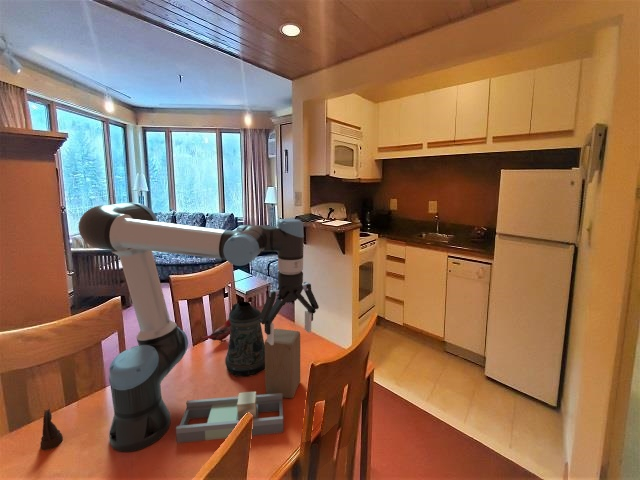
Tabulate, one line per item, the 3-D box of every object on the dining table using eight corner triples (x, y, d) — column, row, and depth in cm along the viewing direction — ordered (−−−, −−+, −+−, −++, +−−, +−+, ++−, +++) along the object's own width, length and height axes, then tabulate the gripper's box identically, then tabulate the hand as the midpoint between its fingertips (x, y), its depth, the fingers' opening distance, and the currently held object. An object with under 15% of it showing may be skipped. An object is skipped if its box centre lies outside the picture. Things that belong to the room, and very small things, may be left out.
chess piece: (64, 433, 87) (59, 402, 85) (61, 446, 83) (55, 414, 81) (42, 440, 85) (36, 408, 83) (38, 454, 80) (32, 421, 79)
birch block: (237, 419, 89) (237, 404, 88) (239, 407, 94) (239, 392, 93) (255, 418, 90) (254, 402, 89) (256, 405, 95) (256, 391, 94)
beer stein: (253, 382, 110) (251, 317, 106) (210, 369, 117) (206, 308, 113) (276, 358, 125) (275, 300, 121) (236, 348, 133) (234, 293, 128)
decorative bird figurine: (238, 337, 142) (237, 317, 140) (202, 353, 129) (201, 330, 127) (234, 335, 144) (233, 315, 142) (198, 350, 130) (197, 328, 129)
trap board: (177, 442, 84) (175, 428, 84) (188, 413, 95) (187, 400, 94) (283, 432, 88) (283, 418, 88) (282, 405, 99) (282, 392, 98)
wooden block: (293, 400, 102) (292, 344, 98) (264, 395, 103) (263, 341, 100) (301, 381, 111) (301, 330, 107) (274, 377, 113) (273, 327, 109)
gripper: (257, 281, 81) (258, 354, 85) (330, 267, 96) (328, 330, 100) (246, 274, 87) (247, 343, 91) (316, 262, 102) (315, 322, 106)
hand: (289, 336), depth 96 cm, fingers open, 13 cm apart
